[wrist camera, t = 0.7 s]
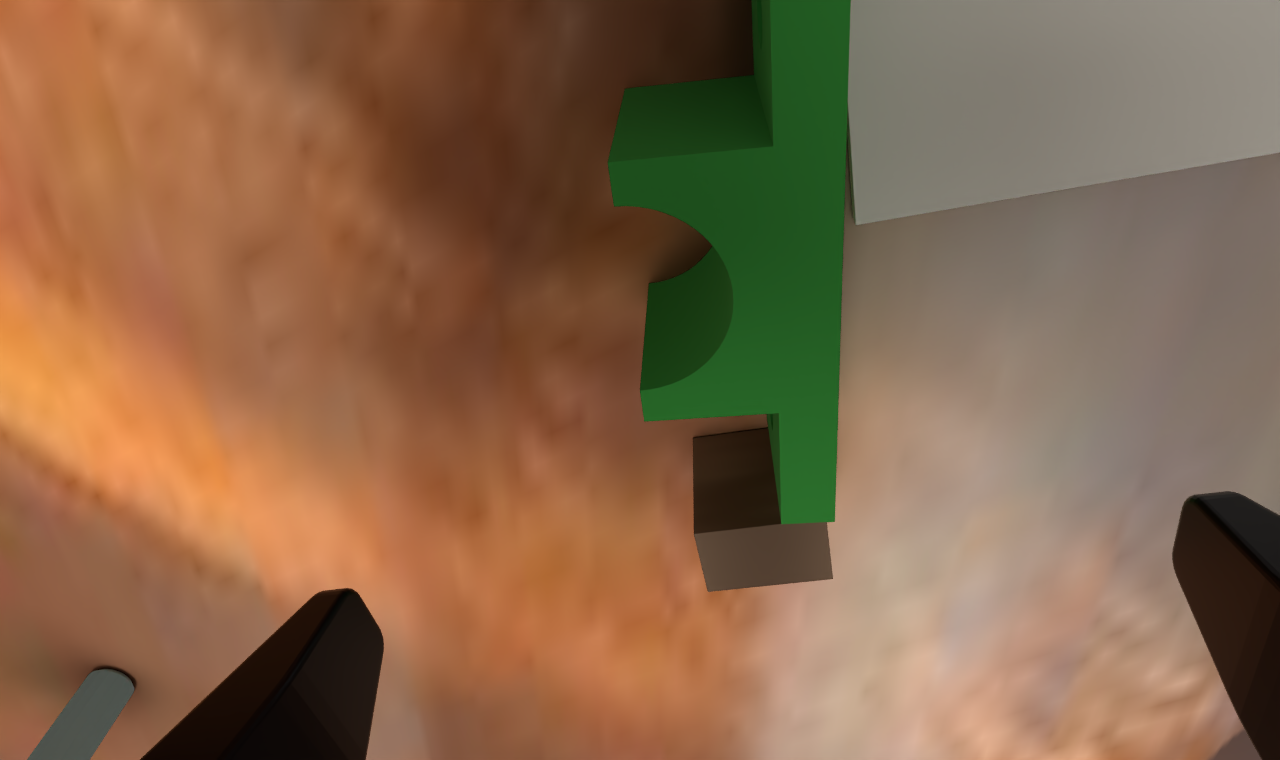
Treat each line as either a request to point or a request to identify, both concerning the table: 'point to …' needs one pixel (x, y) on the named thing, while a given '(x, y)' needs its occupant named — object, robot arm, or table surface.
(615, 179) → the pipe clamp
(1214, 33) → the mat
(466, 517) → the table surface
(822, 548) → the pair of blocks
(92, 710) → the hook
